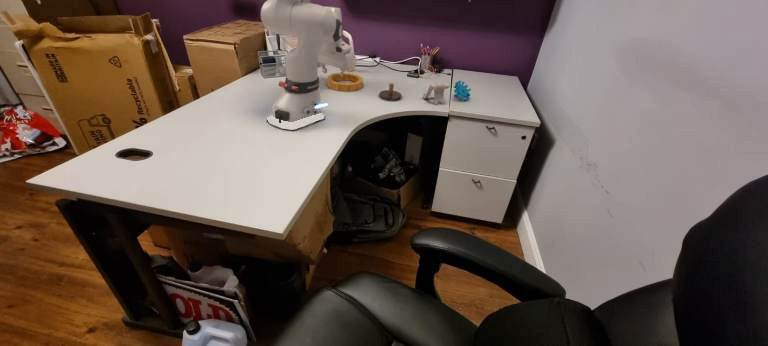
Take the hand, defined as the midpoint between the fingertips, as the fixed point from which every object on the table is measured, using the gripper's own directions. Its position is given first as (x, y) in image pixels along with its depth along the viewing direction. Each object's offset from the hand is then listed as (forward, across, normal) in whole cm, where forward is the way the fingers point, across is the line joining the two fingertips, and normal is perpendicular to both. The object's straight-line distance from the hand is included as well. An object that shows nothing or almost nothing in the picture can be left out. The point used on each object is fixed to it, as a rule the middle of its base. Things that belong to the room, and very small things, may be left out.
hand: (332, 74), depth 156 cm
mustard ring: (+3, +7, 0) cm, 8 cm away
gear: (+4, +59, +21) cm, 63 cm away
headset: (+4, -9, +24) cm, 26 cm away
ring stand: (+3, +31, +1) cm, 31 cm away
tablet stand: (+4, +50, +10) cm, 51 cm away
